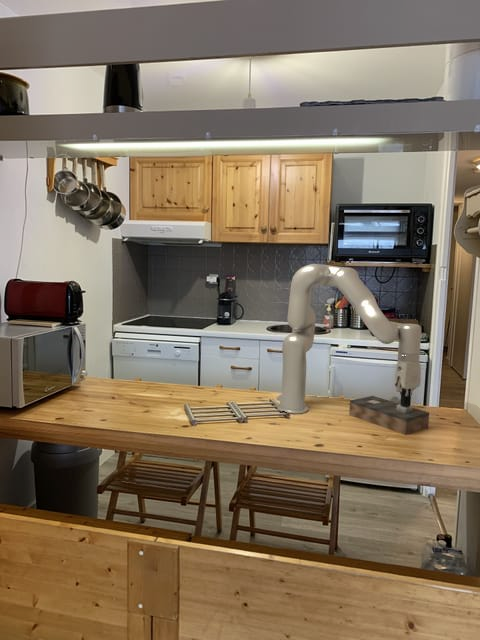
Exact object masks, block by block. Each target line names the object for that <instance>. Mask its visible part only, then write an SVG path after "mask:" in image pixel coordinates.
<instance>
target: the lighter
mask: <svg viewBox="0 0 480 640" xmlns="http://www.w3.org/2000/svg"><path fill="white" fill-rule="evenodd" d="M389 401H392V402H395V403H399V404H400V403H401V397H400V398H399V396H392V397H390V398H389Z"/></svg>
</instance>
